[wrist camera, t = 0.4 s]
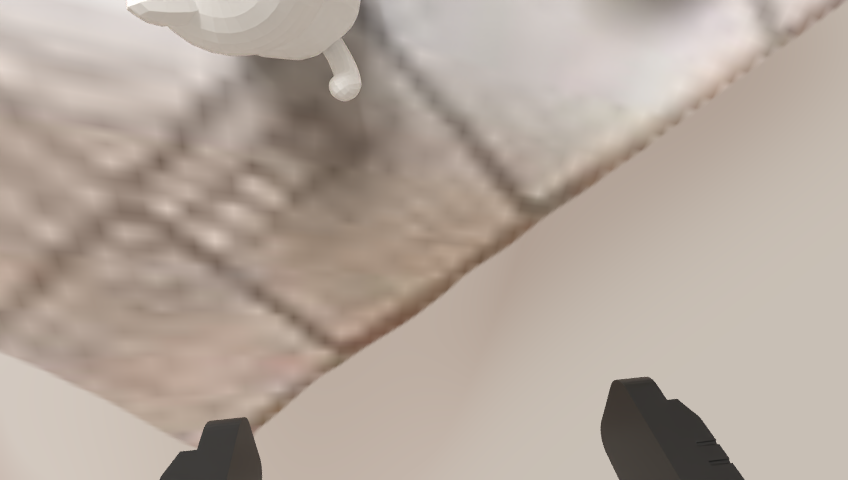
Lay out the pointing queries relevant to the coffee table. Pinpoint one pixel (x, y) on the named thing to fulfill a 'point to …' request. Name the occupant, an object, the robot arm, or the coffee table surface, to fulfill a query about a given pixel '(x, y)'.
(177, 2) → the cat figurine
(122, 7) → the coffee table surface
